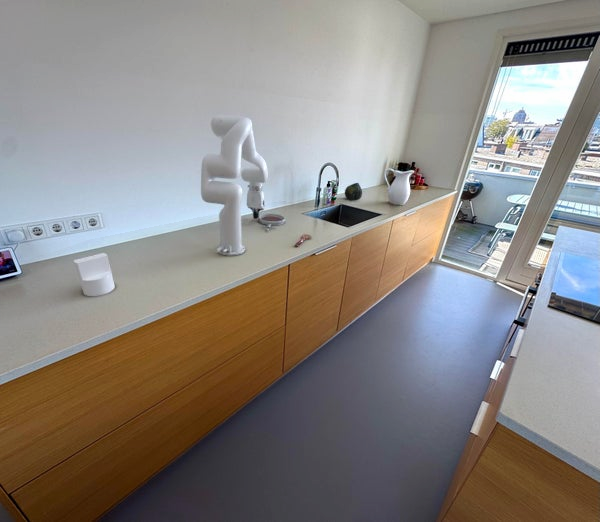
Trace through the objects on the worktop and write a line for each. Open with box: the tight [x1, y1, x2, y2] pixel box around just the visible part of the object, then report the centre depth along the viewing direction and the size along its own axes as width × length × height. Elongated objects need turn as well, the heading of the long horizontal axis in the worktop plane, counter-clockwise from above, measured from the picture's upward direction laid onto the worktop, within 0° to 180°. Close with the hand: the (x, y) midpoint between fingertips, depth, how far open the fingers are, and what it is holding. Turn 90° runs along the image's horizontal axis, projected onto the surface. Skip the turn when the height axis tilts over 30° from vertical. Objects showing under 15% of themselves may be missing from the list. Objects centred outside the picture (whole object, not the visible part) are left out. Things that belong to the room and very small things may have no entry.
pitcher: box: [383, 168, 415, 206], centre depth 240 cm, size 24×17×28 cm
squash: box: [344, 182, 363, 201], centre depth 244 cm, size 14×15×15 cm
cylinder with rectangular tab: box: [73, 252, 116, 297], centre depth 97 cm, size 9×9×12 cm
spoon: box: [294, 233, 312, 248], centre depth 151 cm, size 18×5×2 cm, turn 158°
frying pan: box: [257, 213, 287, 232], centre depth 173 cm, size 17×3×28 cm
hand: (255, 218), depth 176 cm, fingers closed
